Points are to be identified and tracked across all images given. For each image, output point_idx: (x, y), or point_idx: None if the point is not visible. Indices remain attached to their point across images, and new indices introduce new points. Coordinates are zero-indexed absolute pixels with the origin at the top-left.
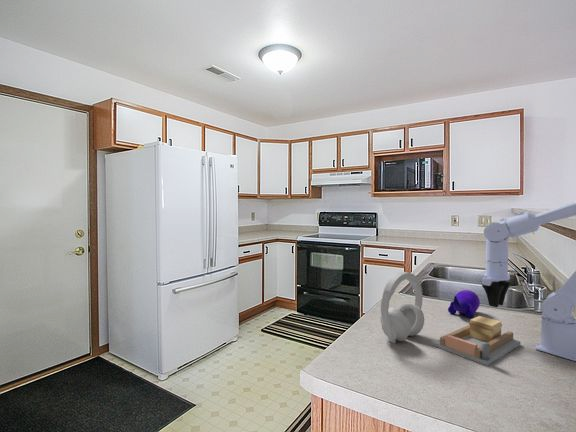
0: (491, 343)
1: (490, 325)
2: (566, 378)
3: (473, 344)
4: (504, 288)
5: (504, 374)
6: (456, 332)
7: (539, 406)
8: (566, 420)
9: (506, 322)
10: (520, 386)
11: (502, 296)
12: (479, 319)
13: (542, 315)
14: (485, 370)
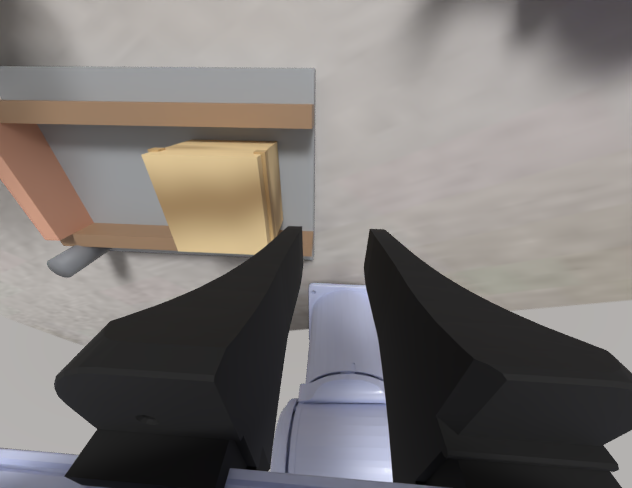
0: (148, 246)
1: (176, 245)
2: None
3: (42, 234)
4: (389, 404)
5: (113, 276)
6: (86, 117)
7: (87, 325)
8: None
9: (563, 146)
10: (107, 301)
11: (378, 316)
12: (198, 185)
13: (326, 383)
14: None
